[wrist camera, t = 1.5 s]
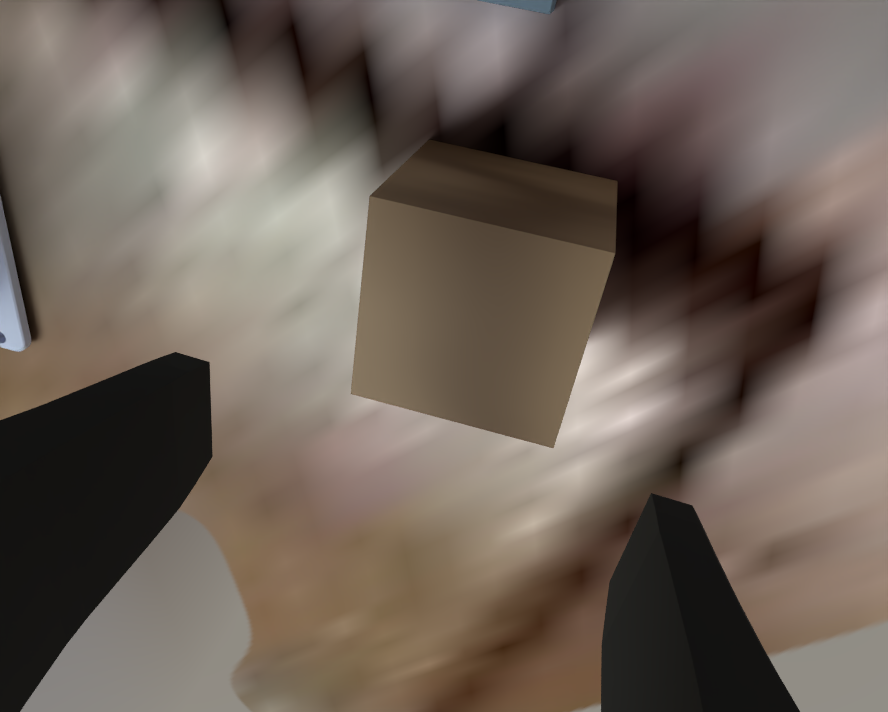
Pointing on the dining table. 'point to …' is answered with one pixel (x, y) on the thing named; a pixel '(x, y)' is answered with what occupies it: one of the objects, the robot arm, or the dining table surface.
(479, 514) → the dining table surface
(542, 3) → the slate board
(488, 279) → the walnut cube
